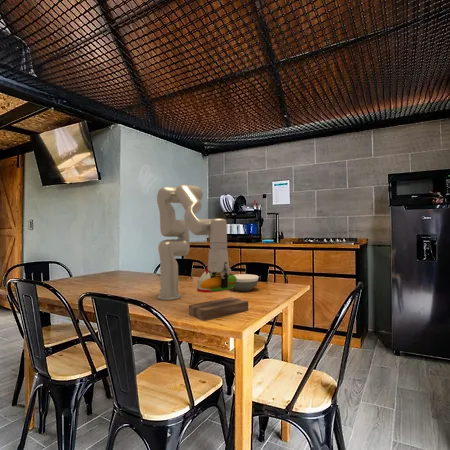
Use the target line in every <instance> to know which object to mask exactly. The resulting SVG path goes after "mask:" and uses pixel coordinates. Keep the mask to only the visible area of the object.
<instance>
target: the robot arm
mask: <svg viewBox="0 0 450 450" xmlns="http://www.w3.org/2000/svg"><path fill="white" fill-rule="evenodd" d="M203 195H204V192H203V190H202V188H201V187H200V186H197V185H190V184H180V185H178V186H177V187H176V186H163V187H161V188H159V189H158V191H157V194H156V201H157V207H158V211H159V225H160V227H159V228H160V233H161V236H163V237H165V238H166V237H167V238H168V239H163V240H161V241H160V242H159V243H158V249H157V250H158V253H159V254H158V256H159V264H160V265H159V267H160V269H159V270H160V271H159V272H160V274H159V275H160V280H159V281H160V288H159V292H160V294H159V295H157V299H158V300H162V301H172V300H173V301H174V300H177V299H180V298H182V294H181V293H179V264H178V261H177V259H176V257H185V256H187V255H188V254H189V252H190V243H191V242H190V233H191V234H193V235H195V236H209V251H208V256H207V259H208V260H207V266H208V267H206V268H208V271H209V273H210V277H211V278H212V277H215V276H217V275H214V274H219V273H221V274H220V276H222V279H221V288H227V287H228V278H229V275H230V274H232V273H231V272H232V269H231V267H230V265H229V264H230V263H229V252H228V228H227V227H228V226H227V224H228V223H227V220H226V219H224V218H198V217H197V216H196V214H197V213H199V212H200V210H201V209H202V206H203V205H202V202H201V200H203V197H204V196H203ZM172 204H180V205H182V207H183V208H184V210H185V211H184V215H183V217H184V220H183V219H177V217H176V211H175V208H174V206H173V205H172ZM176 237H177V238H176ZM169 238H170V239H169ZM171 238H172V239H171ZM173 238H174V239H173ZM223 273H225V274H223ZM211 275H214V276H211Z"/></svg>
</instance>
